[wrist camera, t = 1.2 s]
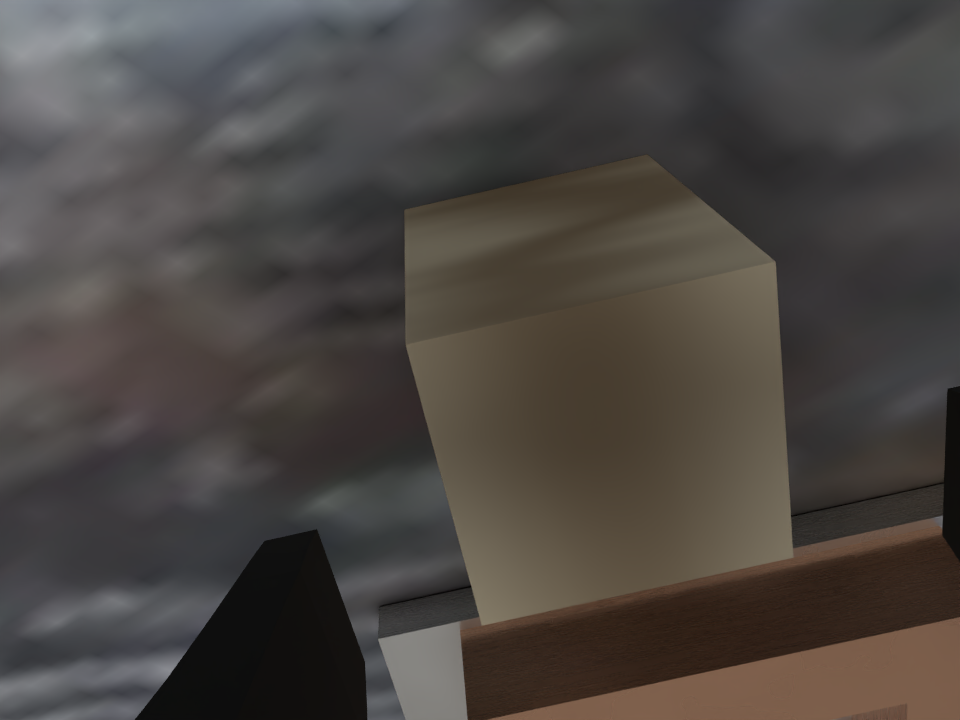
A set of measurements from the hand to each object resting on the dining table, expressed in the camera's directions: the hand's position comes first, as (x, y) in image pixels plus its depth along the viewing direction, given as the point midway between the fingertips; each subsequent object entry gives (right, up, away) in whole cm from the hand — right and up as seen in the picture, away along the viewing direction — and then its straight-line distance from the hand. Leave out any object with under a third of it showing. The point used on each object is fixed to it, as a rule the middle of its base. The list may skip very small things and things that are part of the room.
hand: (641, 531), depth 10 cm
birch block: (-1, +3, +7) cm, 8 cm away
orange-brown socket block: (+4, -7, +12) cm, 14 cm away
